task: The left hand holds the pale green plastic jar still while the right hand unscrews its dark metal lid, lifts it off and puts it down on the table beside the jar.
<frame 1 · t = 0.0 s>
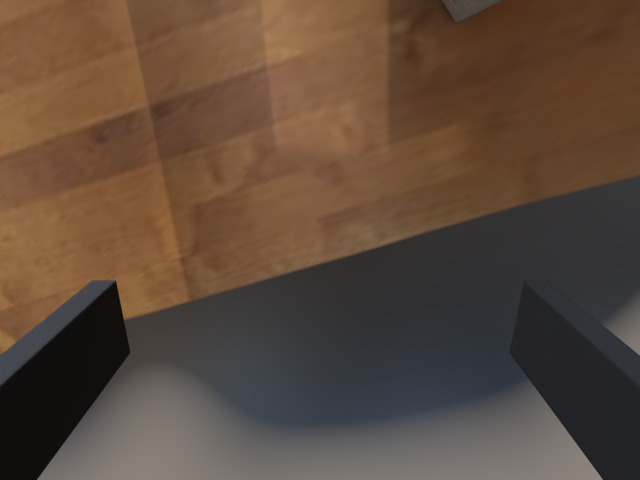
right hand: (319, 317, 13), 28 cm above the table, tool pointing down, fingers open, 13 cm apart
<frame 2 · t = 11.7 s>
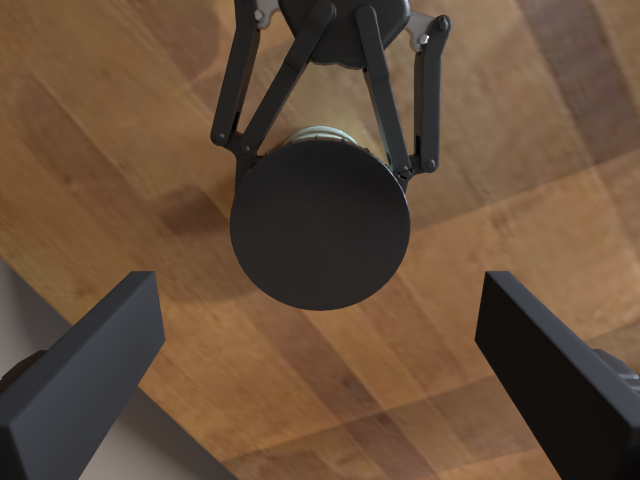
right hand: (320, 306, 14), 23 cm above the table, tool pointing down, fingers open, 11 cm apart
left hand: (312, 248, 31), fingers closed on jar, 9 cm apart
jar: (320, 175, 35), on the table, touching left hand
lid: (320, 229, 21), point 15 cm above the table, screwed on, not yet turned
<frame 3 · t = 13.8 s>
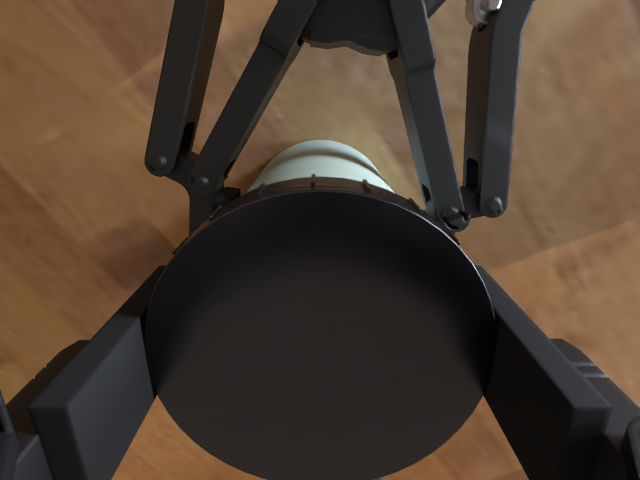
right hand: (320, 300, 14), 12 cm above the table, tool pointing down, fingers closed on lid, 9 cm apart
left hand: (309, 322, 21), fingers closed on jar, 9 cm apart
jar: (320, 208, 25), on the table, touching left hand
lid: (320, 353, 11), point 15 cm above the table, screwed on, not yet turned, touching right hand
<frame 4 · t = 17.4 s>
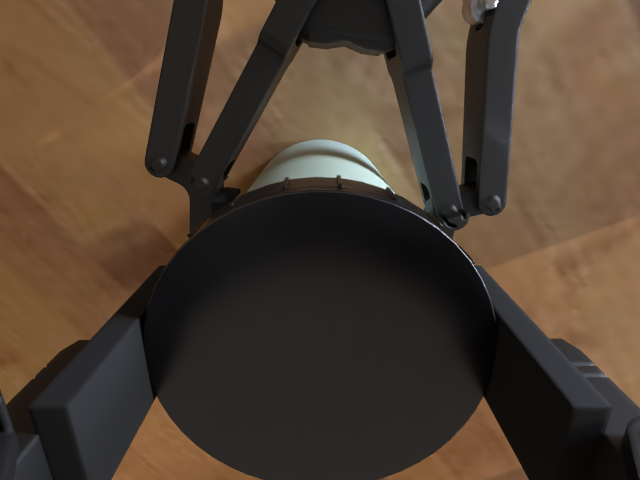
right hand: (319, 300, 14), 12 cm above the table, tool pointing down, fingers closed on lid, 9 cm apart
left hand: (309, 321, 21), fingers closed on jar, 9 cm apart
jar: (320, 207, 25), on the table, touching left hand
lid: (320, 354, 11), point 15 cm above the table, turned 106° so far, risen 0.1 cm, still on its thread, touching right hand
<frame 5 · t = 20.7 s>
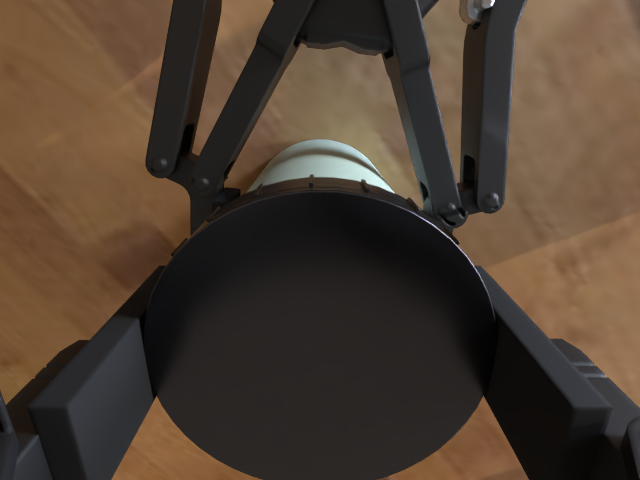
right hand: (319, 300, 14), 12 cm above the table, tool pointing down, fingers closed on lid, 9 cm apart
left hand: (310, 320, 21), fingers closed on jar, 9 cm apart
jar: (320, 207, 25), on the table, touching left hand
lid: (320, 354, 11), point 15 cm above the table, turned 212° so far, risen 0.3 cm, still on its thread, touching right hand
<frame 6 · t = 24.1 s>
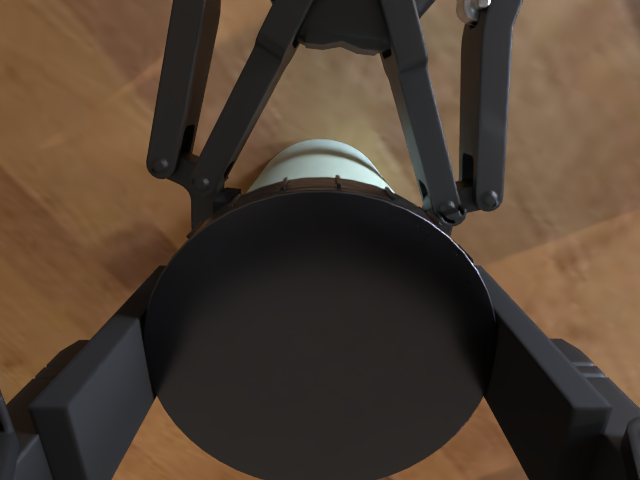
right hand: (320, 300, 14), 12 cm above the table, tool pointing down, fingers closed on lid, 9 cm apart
left hand: (311, 319, 21), fingers closed on jar, 9 cm apart
jar: (320, 206, 26), on the table, touching left hand
lid: (320, 354, 11), point 15 cm above the table, turned 318° so far, risen 0.4 cm, still on its thread, touching right hand
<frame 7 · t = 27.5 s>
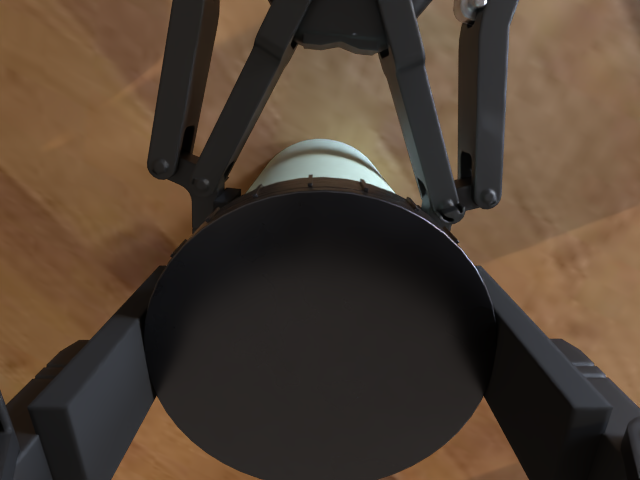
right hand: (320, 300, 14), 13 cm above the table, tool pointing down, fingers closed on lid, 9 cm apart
left hand: (312, 318, 21), fingers closed on jar, 9 cm apart
jar: (320, 206, 26), on the table, touching left hand
lid: (320, 354, 11), point 16 cm above the table, turned 424° so far, risen 0.5 cm, still on its thread, touching right hand
when the right hand's fingers open (0 cm above the table, at t = 34.4 s): lid drops 2 cm, point 1 cm above the table.
when the left hand's fingers open (6 cm above the table, at t = 35.4 s): jar stays where it is, on the table.
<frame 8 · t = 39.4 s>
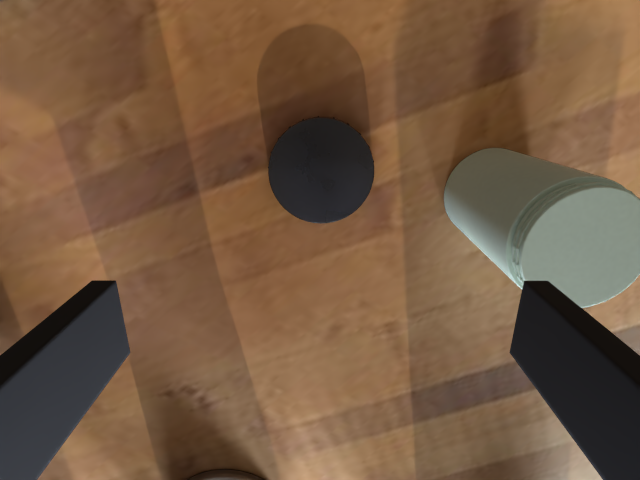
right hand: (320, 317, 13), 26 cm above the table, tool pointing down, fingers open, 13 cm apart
jar: (488, 193, 38), on the table
lid: (321, 172, 36), point 1 cm above the table, off its thread
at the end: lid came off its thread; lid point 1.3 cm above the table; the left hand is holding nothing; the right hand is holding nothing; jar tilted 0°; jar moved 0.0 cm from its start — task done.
